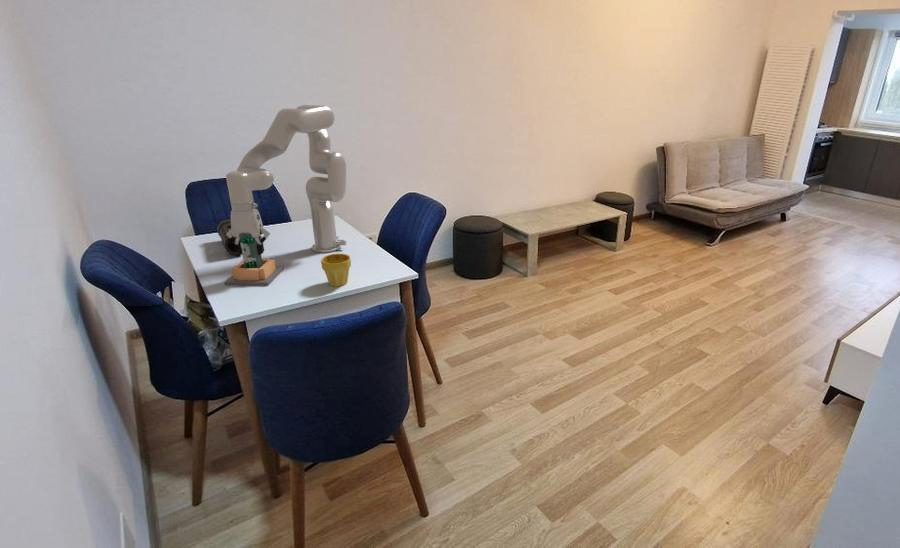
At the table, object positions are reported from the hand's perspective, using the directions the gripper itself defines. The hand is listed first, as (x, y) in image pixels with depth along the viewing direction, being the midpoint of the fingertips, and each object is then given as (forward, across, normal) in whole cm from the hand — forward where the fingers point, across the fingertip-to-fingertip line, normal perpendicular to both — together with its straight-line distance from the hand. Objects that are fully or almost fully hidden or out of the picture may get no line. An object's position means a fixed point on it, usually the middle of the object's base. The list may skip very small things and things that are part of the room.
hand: (251, 253), depth 170 cm
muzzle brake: (+10, +24, -33) cm, 42 cm away
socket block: (+10, 0, 0) cm, 10 cm away
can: (+7, 0, 0) cm, 7 cm away
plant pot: (+10, -33, +5) cm, 35 cm away
